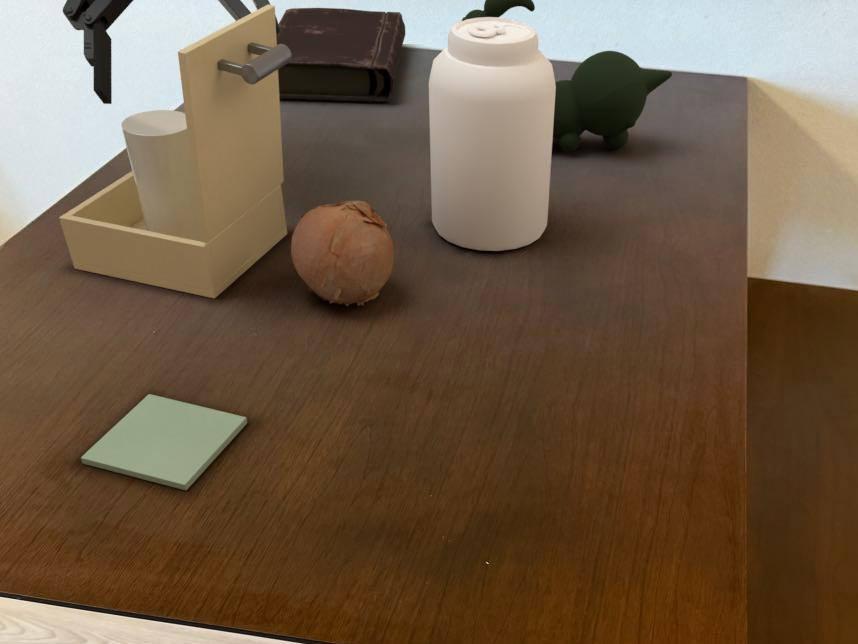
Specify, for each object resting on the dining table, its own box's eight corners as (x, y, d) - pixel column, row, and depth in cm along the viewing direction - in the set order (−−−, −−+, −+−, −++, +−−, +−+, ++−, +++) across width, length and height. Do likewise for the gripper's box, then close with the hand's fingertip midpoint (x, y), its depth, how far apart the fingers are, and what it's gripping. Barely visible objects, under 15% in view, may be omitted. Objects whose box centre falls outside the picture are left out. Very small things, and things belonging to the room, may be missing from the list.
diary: (406, 45, 148) (405, 9, 145) (395, 104, 130) (393, 65, 127) (284, 41, 148) (279, 5, 144) (255, 100, 130) (250, 60, 126)
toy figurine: (473, 173, 119) (674, 157, 119) (459, 3, 106) (685, -14, 106) (471, 143, 126) (661, 128, 126) (457, -20, 113) (670, -36, 113)
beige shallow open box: (74, 268, 95) (58, 217, 91) (158, 208, 105) (147, 160, 101) (214, 298, 92) (204, 246, 88) (287, 233, 102) (281, 184, 98)
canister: (137, 251, 96) (106, 129, 88) (173, 224, 101) (147, 105, 92) (193, 263, 95) (168, 140, 87) (227, 235, 99) (206, 116, 91)
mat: (82, 463, 73) (80, 457, 73) (150, 399, 80) (148, 393, 79) (186, 490, 72) (184, 484, 71) (247, 423, 78) (246, 417, 77)
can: (461, 263, 99) (461, 54, 85) (413, 213, 106) (406, 14, 93) (568, 241, 103) (584, 39, 89) (514, 194, 111) (521, 2, 97)
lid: (177, 51, 76) (228, 64, 76) (267, 4, 86) (313, 15, 86) (200, 241, 88) (244, 254, 87) (277, 180, 98) (318, 191, 97)
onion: (379, 309, 97) (417, 216, 93) (361, 335, 89) (402, 233, 84) (291, 268, 96) (325, 171, 91) (264, 290, 87) (300, 184, 83)
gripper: (306, -85, 100) (308, 118, 99) (58, -92, 98) (58, 114, 98) (294, -138, 92) (296, 81, 92) (25, -147, 91) (25, 76, 90)
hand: (173, 99), depth 95 cm, fingers open, 13 cm apart
